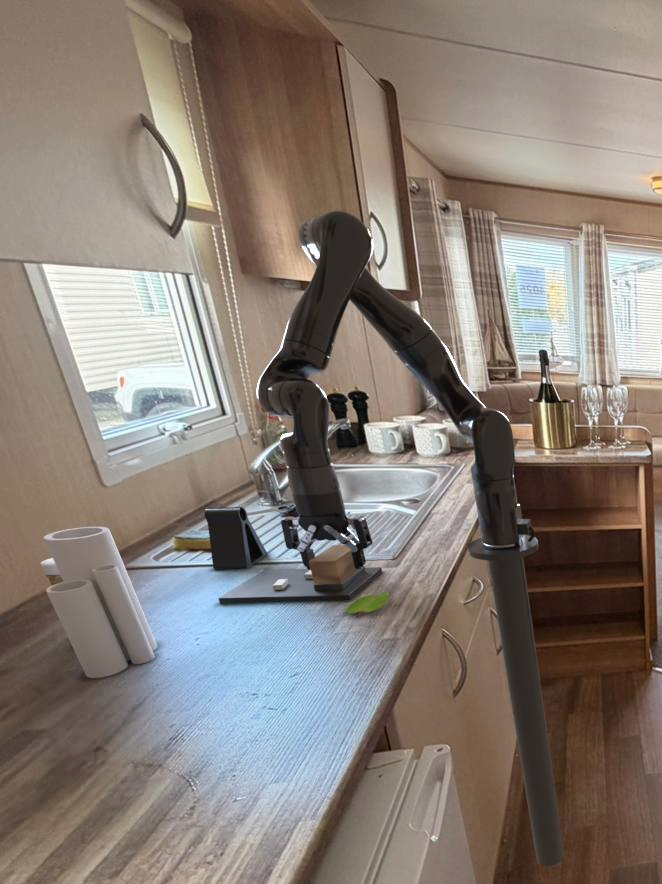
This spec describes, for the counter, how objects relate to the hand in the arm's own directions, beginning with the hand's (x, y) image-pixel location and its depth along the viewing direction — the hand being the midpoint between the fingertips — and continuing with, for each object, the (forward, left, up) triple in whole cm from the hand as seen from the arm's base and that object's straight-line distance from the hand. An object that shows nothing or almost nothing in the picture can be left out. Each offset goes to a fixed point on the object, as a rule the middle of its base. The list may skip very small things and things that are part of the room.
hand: (336, 568), depth 127 cm
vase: (+18, +28, -4) cm, 34 cm away
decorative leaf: (-9, +10, -4) cm, 15 cm away
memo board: (+6, 0, -4) cm, 7 cm away
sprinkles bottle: (+29, +19, -4) cm, 35 cm away
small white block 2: (+6, -3, -3) cm, 7 cm away
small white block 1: (+9, +2, -3) cm, 10 cm away
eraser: (0, 0, -3) cm, 3 cm away
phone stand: (+26, -16, -4) cm, 31 cm away
